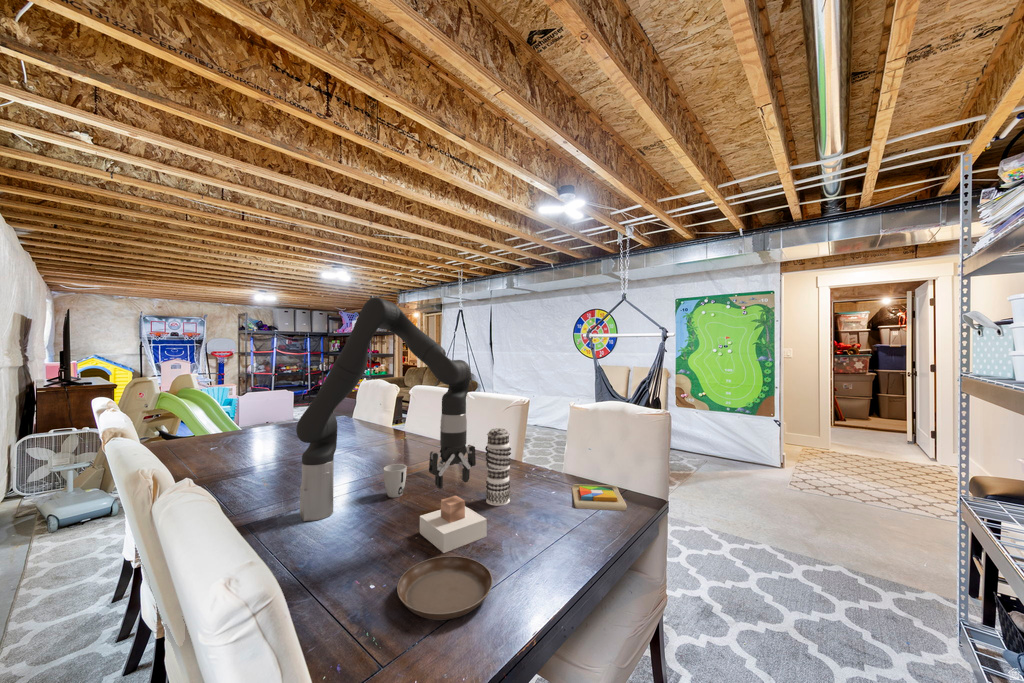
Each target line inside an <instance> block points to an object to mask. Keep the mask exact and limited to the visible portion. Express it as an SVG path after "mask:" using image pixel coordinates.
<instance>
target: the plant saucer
mask: <svg viewBox="0 0 1024 683" xmlns="http://www.w3.org/2000/svg"><path fill="white" fill-rule="evenodd" d="M493 583H494V582H493V576H492V573H491V571H490V570H489V568H488V566H486V565H484V564H483V563H481V562H480V561H478V560H475V559H473V558H470V557H465V556H459V555H444V556H437V557H432V558H428V559H426V560H423V561H420V562H419V563H416V564H415V565H413V566H411V567H410V568H409V569H408V570H406V571H405V572H404V573H403V574H402V575H401V576H400V579H399V580H398V583H397V587H396V590H397V596H398V598H399V599H400V601H401V602H402V604H403V605H404V606H405V607H406V608H407V609H408V610H409V611H411V613H413V614H415V615H417V616H419V617H421V618H422V619H423V618H425V619H428V620H435V621H446V620H452V619H458V618H460V617H463V616H465V615H467V614H469V613H470V612H472V611H473V610H475V609H476V608H478V607H479V606H480V605H481V604H482V603H483V602H484V601H485V599H486V598H487V596H488V595H489V594H490V592H491V590H492V587H493Z"/></svg>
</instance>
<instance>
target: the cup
mask: <svg viewBox="0 0 1024 683" xmlns="http://www.w3.org/2000/svg"><path fill="white" fill-rule="evenodd" d="M407 469H408V466H407V465H406V464H401V463H397V464H396V463H395V464H389V465H386V466H384V467H383V479H384V480H383V481H384V486H385V491H386V494H387V497H389V498H399V497H401V496H403V493H404V490H405V485H406V480H407Z"/></svg>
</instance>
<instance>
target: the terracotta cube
mask: <svg viewBox="0 0 1024 683" xmlns="http://www.w3.org/2000/svg"><path fill="white" fill-rule="evenodd" d="M465 506H466V500H464V499H463V498H461V497H460V496H457V495H453V496H452V495H451V496H449V497H446V498H442V499H440V510H441V517H442V518H443V519H445V520H446V521H447V522H449V523H452V522H455V521H458V520H461V519H463V518H465Z"/></svg>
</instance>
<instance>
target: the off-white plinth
mask: <svg viewBox="0 0 1024 683" xmlns="http://www.w3.org/2000/svg"><path fill="white" fill-rule="evenodd" d="M487 520H488V519H487V518H486V517H484V516H482V515H480V514H479V513H477V512H476V511H474V510H473V509H471V508H469V507H467V506H466V505H465V518H463V519H461V520H458V521H455V522H452V523H449V522H447V521H446V520H445V519H443V518H442V517H441V509H439V510H438V509H437V510H435V511H431V512H428V513H425V514H421V515H419V534H420V535H421V536H422V537H423V538H425V539H426V540H427V541H428V542H430V543H431V544H432V545H434V546H435V547H436V549H438V550H439V551H441V553H443V554H446V553H448V552H450V551H454V550H455V549H456V550H457V549H458V548H460V547H464V546H465V545H469V544H471V543H474V542H476V541H478V540H481V539H484V538H487V536H488V535H487V529H488V528H487V526H488V524H487V523H488V521H487Z"/></svg>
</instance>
